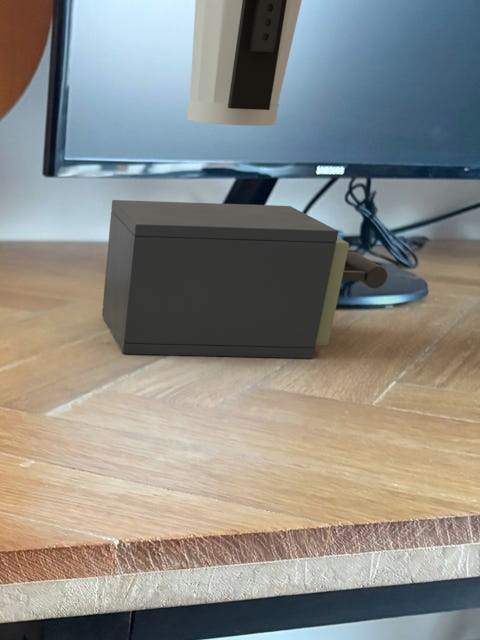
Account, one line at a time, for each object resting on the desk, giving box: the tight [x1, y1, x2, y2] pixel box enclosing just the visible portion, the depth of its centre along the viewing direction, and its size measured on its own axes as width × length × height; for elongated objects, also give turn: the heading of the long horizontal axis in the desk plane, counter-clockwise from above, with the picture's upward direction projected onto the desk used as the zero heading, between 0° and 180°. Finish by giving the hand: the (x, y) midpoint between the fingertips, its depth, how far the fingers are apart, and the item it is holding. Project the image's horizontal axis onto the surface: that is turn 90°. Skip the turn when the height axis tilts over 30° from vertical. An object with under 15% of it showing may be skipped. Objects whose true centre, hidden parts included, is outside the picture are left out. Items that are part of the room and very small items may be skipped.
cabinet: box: [101, 199, 339, 359], centre depth 77 cm, size 15×12×9 cm
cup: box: [186, 0, 303, 127], centre depth 69 cm, size 8×8×12 cm
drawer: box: [316, 237, 388, 346], centre depth 78 cm, size 18×10×7 cm, turn 93°
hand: (233, 104), depth 71 cm, fingers closed on cup, 7 cm apart
